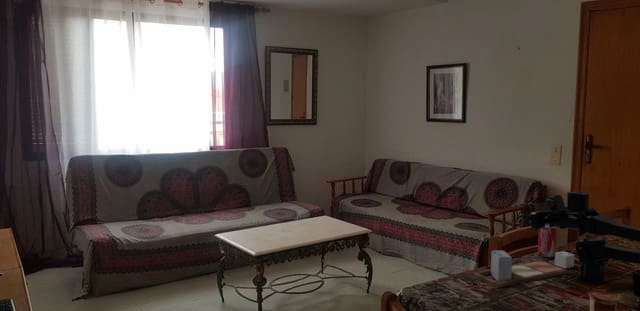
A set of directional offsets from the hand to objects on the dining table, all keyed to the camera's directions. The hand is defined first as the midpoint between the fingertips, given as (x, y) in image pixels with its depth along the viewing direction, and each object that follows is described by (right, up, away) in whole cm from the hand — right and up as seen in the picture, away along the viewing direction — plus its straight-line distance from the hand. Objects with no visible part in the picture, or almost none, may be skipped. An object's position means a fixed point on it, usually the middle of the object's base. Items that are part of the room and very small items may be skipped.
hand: (530, 214), depth 184 cm
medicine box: (-19, -19, -19) cm, 33 cm away
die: (+10, -18, -6) cm, 21 cm away
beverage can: (+9, -17, +6) cm, 20 cm away
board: (-11, -19, -16) cm, 27 cm away
